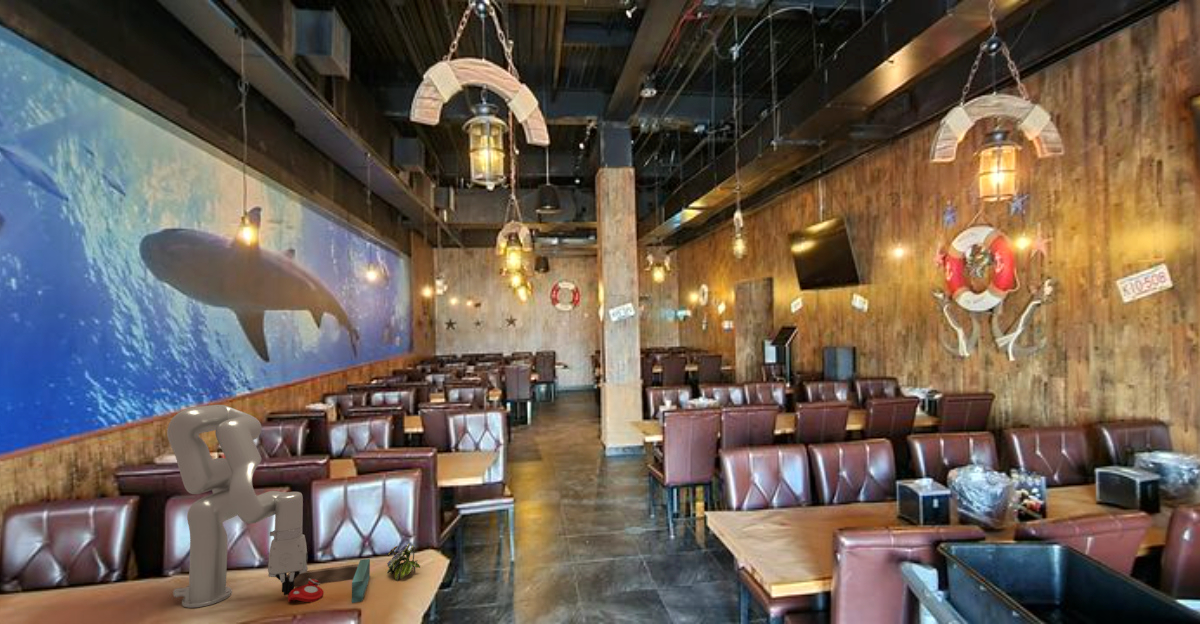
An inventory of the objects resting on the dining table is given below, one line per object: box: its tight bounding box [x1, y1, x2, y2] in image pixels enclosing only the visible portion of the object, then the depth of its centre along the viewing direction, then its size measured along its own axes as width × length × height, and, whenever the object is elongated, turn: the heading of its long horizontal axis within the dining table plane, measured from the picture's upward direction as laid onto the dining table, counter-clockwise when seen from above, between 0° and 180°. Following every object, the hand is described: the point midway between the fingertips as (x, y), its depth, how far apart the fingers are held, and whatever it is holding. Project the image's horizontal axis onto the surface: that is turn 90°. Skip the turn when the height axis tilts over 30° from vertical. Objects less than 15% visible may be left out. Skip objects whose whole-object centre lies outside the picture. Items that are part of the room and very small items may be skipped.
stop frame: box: [287, 558, 371, 604], centre depth 169 cm, size 25×21×6 cm
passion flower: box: [386, 543, 421, 581], centre depth 183 cm, size 11×11×12 cm
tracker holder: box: [287, 578, 324, 603], centre depth 167 cm, size 12×4×10 cm
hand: (287, 593), depth 166 cm, fingers closed
